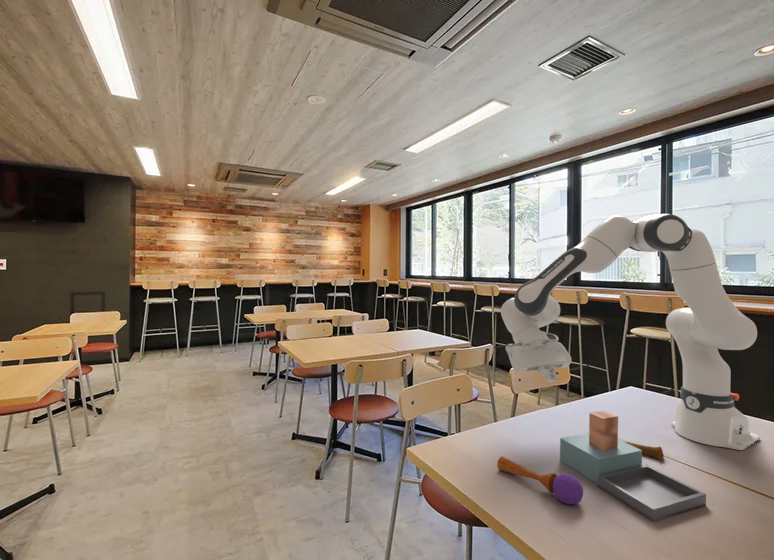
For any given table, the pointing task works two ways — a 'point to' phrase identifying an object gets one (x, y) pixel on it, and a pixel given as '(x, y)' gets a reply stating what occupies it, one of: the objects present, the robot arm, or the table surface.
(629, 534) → the table surface
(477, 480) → the table surface
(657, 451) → the primitive tool
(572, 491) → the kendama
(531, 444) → the table surface
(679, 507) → the box
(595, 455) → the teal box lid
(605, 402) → the table surface
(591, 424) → the terracotta block
